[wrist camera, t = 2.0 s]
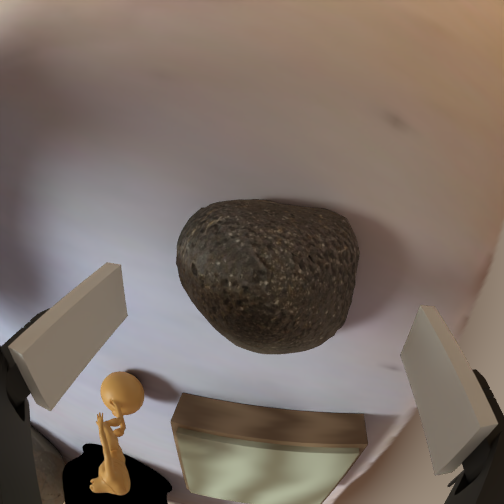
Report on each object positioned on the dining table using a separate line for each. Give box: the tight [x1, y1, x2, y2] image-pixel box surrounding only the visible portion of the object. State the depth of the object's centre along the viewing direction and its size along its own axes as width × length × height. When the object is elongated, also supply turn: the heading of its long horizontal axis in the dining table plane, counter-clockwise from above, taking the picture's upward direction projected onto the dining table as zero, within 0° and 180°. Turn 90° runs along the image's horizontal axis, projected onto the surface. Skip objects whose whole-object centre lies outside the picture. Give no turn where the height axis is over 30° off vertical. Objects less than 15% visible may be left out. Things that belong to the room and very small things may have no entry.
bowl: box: [30, 426, 65, 504], centre depth 33 cm, size 23×23×15 cm
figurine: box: [90, 372, 144, 495], centre depth 19 cm, size 8×6×12 cm
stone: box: [176, 199, 360, 354], centre depth 17 cm, size 10×8×10 cm
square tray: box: [171, 393, 368, 504], centre depth 25 cm, size 16×16×4 cm
